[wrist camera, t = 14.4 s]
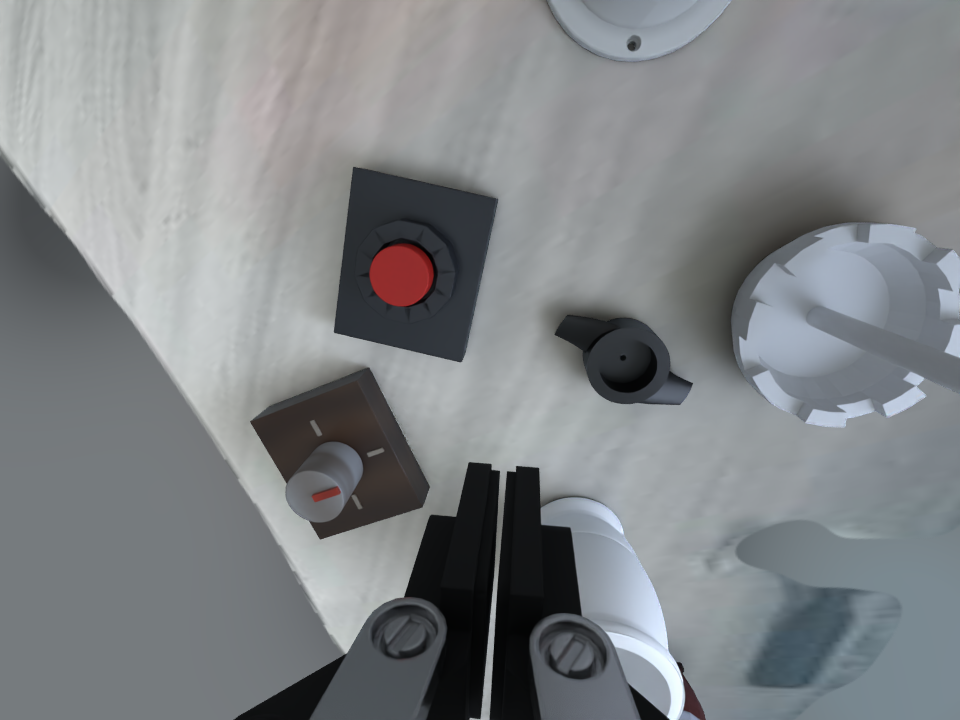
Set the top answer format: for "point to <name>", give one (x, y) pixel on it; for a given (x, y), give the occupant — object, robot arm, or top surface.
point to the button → (401, 274)
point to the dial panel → (359, 424)
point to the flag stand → (849, 322)
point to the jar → (620, 599)
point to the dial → (324, 482)
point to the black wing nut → (625, 360)
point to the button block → (445, 240)
